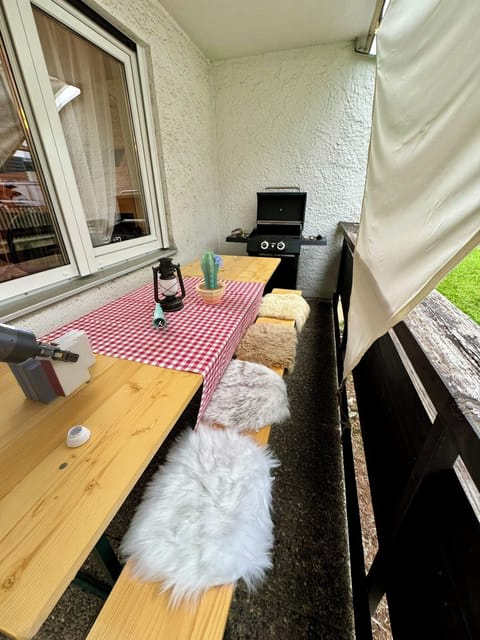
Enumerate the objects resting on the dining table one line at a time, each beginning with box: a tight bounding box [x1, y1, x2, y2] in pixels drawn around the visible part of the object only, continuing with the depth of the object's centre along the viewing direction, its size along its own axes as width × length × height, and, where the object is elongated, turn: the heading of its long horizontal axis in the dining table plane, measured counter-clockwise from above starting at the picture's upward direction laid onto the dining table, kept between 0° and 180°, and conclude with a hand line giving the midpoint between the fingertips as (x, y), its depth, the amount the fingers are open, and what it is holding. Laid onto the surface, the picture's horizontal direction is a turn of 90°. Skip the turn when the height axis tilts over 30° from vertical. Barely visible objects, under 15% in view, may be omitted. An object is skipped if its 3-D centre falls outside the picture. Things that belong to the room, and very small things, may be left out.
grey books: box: [6, 358, 60, 405], centre depth 73 cm, size 8×8×13 cm
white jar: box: [65, 424, 92, 448], centre depth 61 cm, size 5×3×5 cm
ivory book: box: [39, 340, 92, 398], centre depth 67 cm, size 3×8×12 cm, turn 162°
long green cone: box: [152, 302, 167, 330], centre depth 118 cm, size 5×6×27 cm
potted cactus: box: [195, 250, 227, 305], centre depth 126 cm, size 15×15×25 cm
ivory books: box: [49, 329, 97, 369], centre depth 83 cm, size 6×8×12 cm, turn 162°
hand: (71, 357), depth 68 cm, fingers closed on ivory book, 3 cm apart
